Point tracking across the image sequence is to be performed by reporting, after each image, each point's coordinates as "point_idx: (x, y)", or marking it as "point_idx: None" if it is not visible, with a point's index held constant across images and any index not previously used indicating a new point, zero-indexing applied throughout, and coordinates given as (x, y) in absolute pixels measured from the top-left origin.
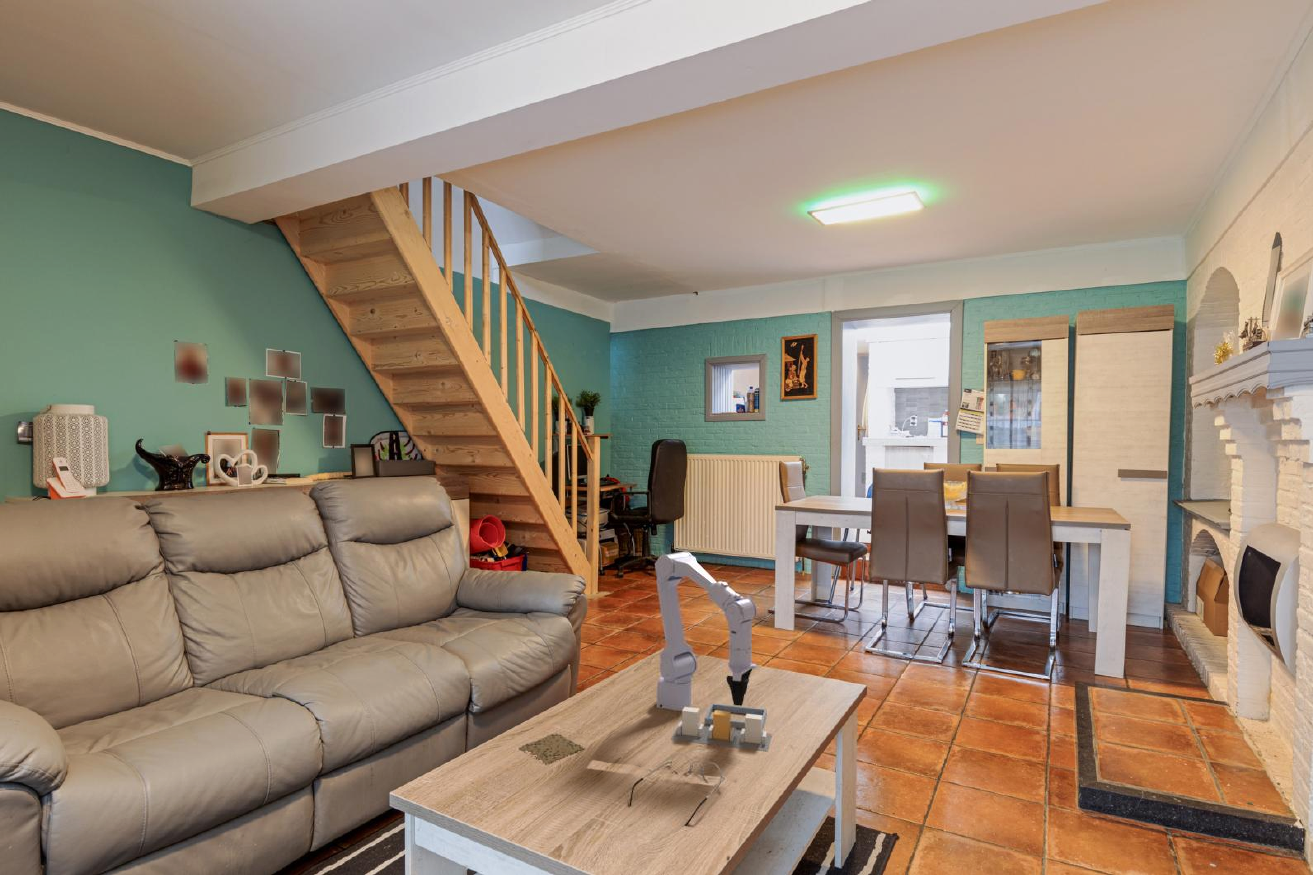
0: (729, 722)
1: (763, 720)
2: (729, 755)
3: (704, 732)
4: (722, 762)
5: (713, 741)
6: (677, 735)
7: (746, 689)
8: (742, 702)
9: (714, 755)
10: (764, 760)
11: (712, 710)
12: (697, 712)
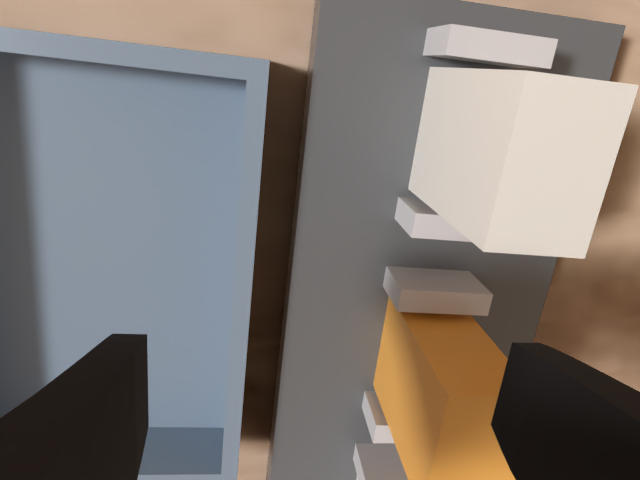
0: (490, 357)
1: (171, 51)
2: (558, 267)
3: (365, 438)
4: (633, 295)
5: None
6: None
7: (130, 360)
8: (575, 360)
9: (556, 341)
10: (628, 53)
11: None
12: None
